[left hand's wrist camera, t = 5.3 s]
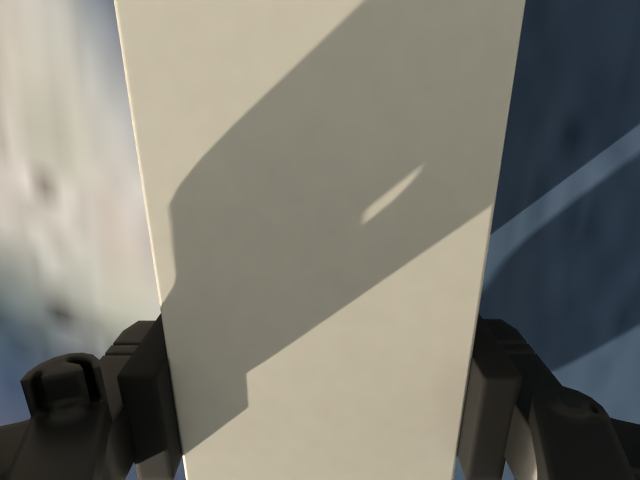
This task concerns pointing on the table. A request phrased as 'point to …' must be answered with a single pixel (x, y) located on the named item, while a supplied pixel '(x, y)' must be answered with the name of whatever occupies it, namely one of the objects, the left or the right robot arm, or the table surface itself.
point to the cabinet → (319, 222)
